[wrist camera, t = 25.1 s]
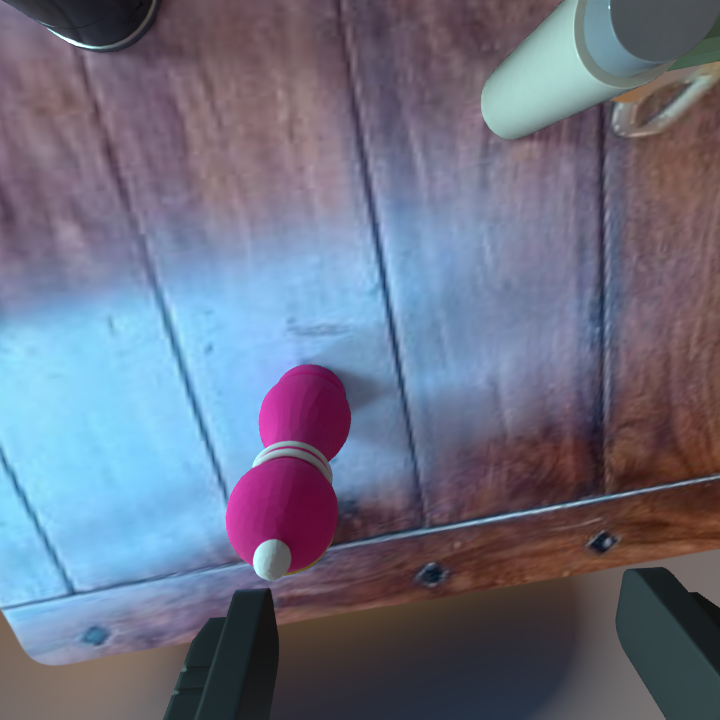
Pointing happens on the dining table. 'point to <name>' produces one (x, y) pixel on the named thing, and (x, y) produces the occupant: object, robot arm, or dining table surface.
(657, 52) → the cylinder
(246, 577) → the dining table surface
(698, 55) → the green square tray
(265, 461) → the pepper mill
